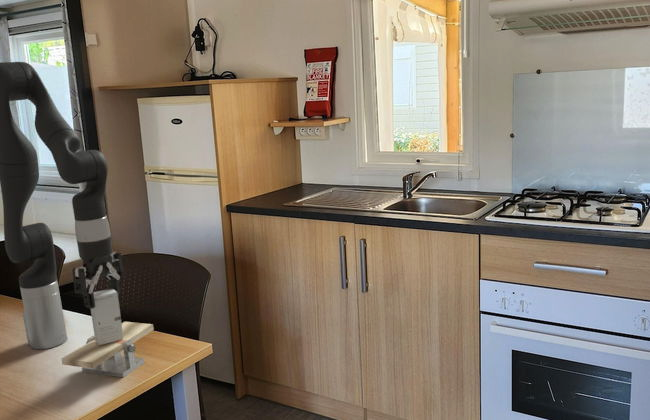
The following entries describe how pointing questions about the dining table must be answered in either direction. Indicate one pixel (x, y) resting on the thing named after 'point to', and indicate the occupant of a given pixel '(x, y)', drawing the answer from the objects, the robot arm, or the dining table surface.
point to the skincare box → (106, 317)
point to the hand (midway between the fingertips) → (103, 301)
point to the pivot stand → (118, 362)
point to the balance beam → (105, 347)
